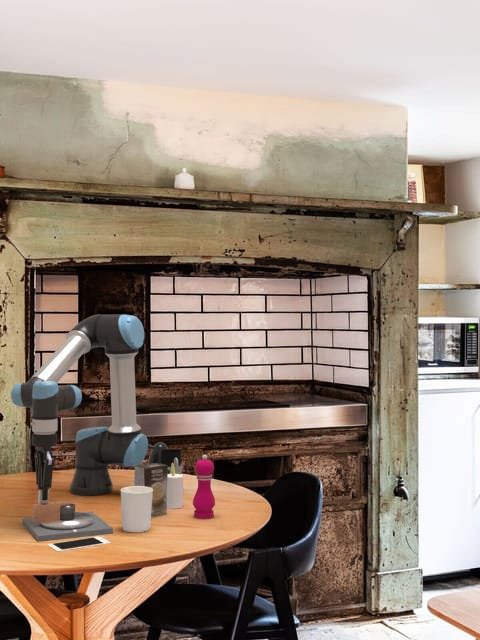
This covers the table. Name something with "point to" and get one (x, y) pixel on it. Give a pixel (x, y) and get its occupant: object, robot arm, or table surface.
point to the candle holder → (136, 508)
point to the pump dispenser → (156, 452)
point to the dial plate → (53, 534)
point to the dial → (60, 516)
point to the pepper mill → (204, 489)
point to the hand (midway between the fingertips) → (43, 510)
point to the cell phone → (78, 543)
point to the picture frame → (172, 459)
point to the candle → (174, 490)
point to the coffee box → (154, 484)
